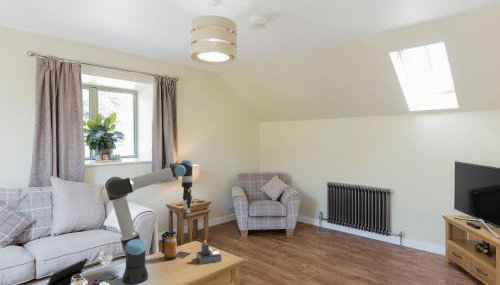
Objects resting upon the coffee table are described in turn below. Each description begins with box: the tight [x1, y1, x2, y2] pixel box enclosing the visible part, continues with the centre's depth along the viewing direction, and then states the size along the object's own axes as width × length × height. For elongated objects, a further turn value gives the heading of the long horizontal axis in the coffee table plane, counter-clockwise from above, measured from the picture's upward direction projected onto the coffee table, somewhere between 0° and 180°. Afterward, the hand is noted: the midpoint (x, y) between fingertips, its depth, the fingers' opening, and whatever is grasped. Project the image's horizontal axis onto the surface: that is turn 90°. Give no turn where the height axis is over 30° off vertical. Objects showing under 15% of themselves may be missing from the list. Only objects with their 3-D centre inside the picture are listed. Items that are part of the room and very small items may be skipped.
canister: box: [161, 230, 178, 261], centre depth 229 cm, size 9×11×20 cm
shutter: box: [209, 247, 221, 256], centre depth 228 cm, size 7×7×3 cm
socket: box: [195, 249, 222, 265], centre depth 227 cm, size 16×12×5 cm
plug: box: [200, 240, 210, 257], centre depth 226 cm, size 4×4×14 cm
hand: (186, 210), depth 224 cm, fingers open, 13 cm apart
